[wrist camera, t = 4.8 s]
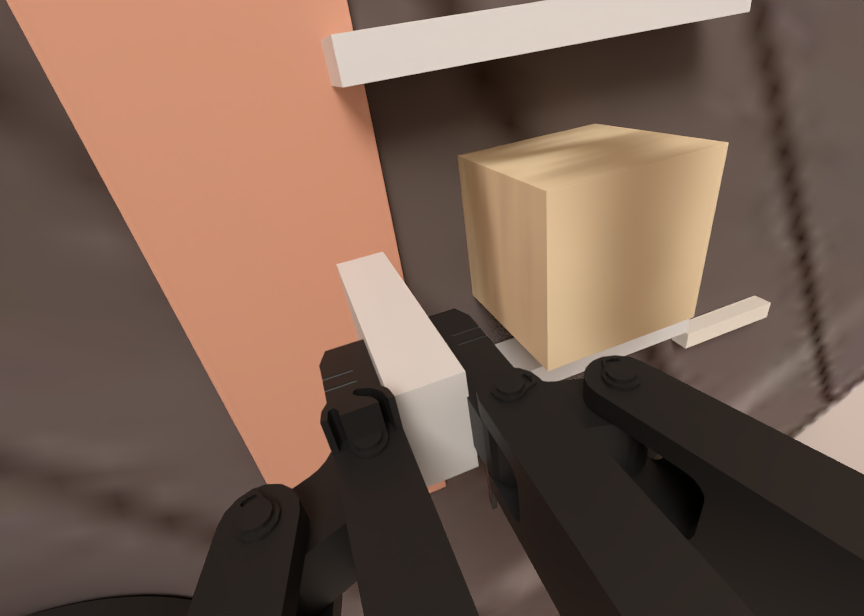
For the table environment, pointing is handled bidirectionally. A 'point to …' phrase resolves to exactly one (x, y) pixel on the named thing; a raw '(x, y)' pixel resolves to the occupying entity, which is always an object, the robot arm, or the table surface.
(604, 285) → the maple block
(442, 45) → the guide rails
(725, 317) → the strips
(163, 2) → the mat
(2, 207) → the table surface
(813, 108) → the table surface
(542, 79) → the table surface
